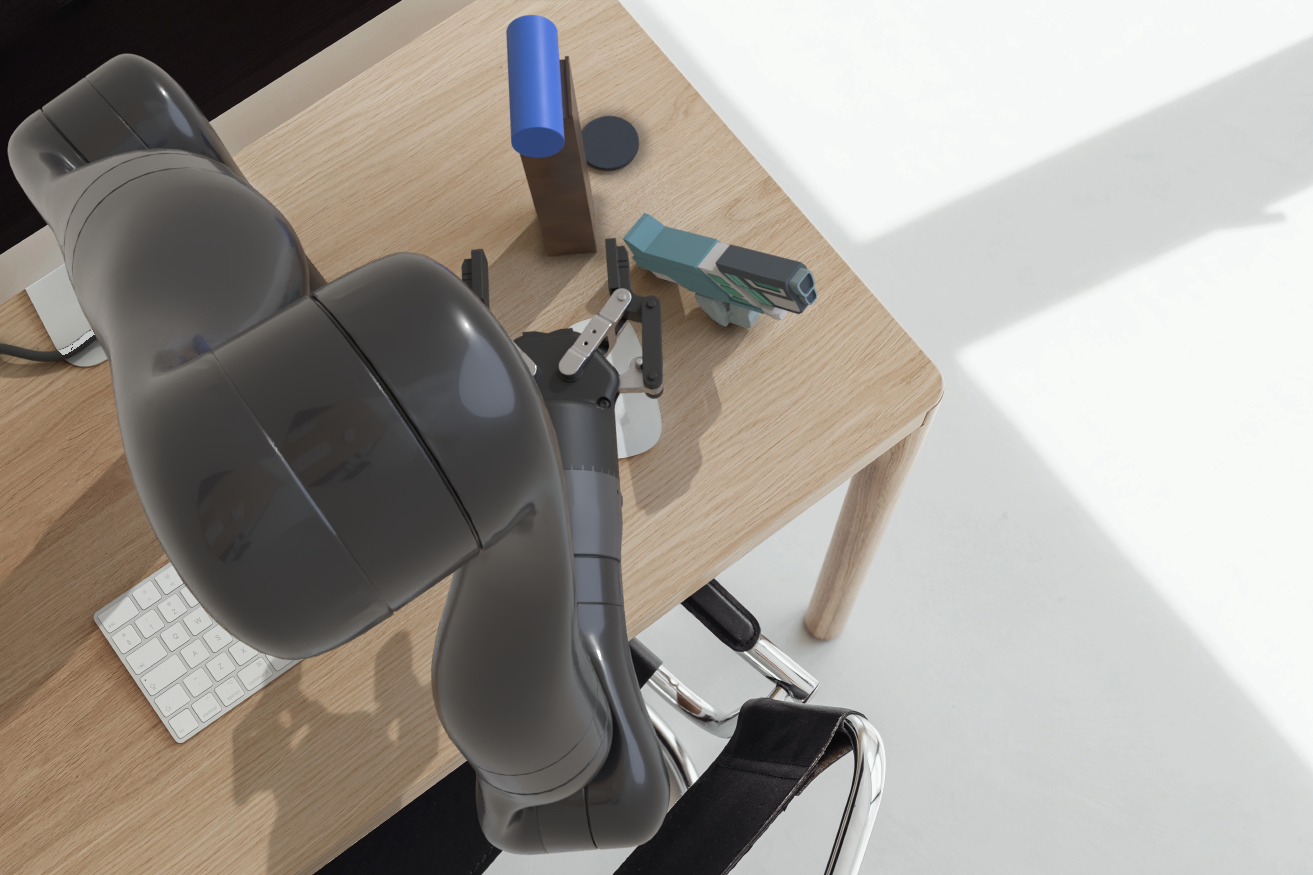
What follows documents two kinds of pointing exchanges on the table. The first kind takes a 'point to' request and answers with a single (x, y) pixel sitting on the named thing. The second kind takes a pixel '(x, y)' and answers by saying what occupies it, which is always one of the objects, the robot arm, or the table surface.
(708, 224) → the table surface
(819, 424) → the table surface
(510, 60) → the tube
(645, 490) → the table surface
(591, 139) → the mat
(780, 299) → the toy gun
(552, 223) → the brown tall block
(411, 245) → the table surface
